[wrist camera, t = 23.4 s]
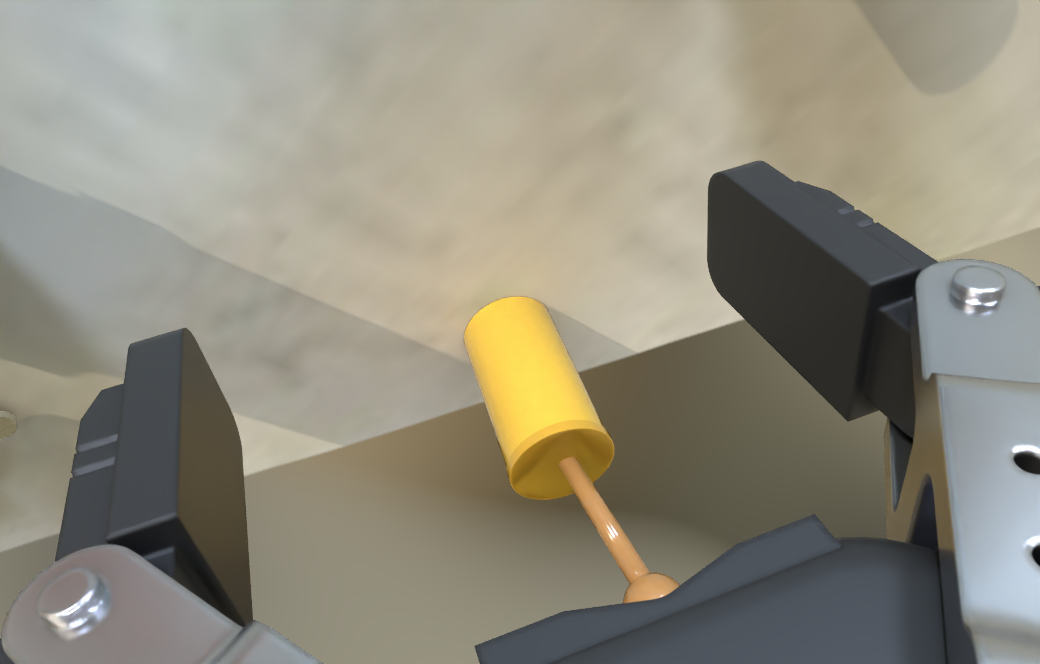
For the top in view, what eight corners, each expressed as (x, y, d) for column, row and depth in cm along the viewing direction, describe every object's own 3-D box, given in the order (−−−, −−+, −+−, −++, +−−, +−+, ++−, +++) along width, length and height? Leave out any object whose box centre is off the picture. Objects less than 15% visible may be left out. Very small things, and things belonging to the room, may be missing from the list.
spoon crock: (473, 376, 52) (582, 695, 37) (452, 313, 48) (566, 645, 33) (558, 347, 52) (700, 651, 37) (545, 282, 48) (699, 595, 33)
